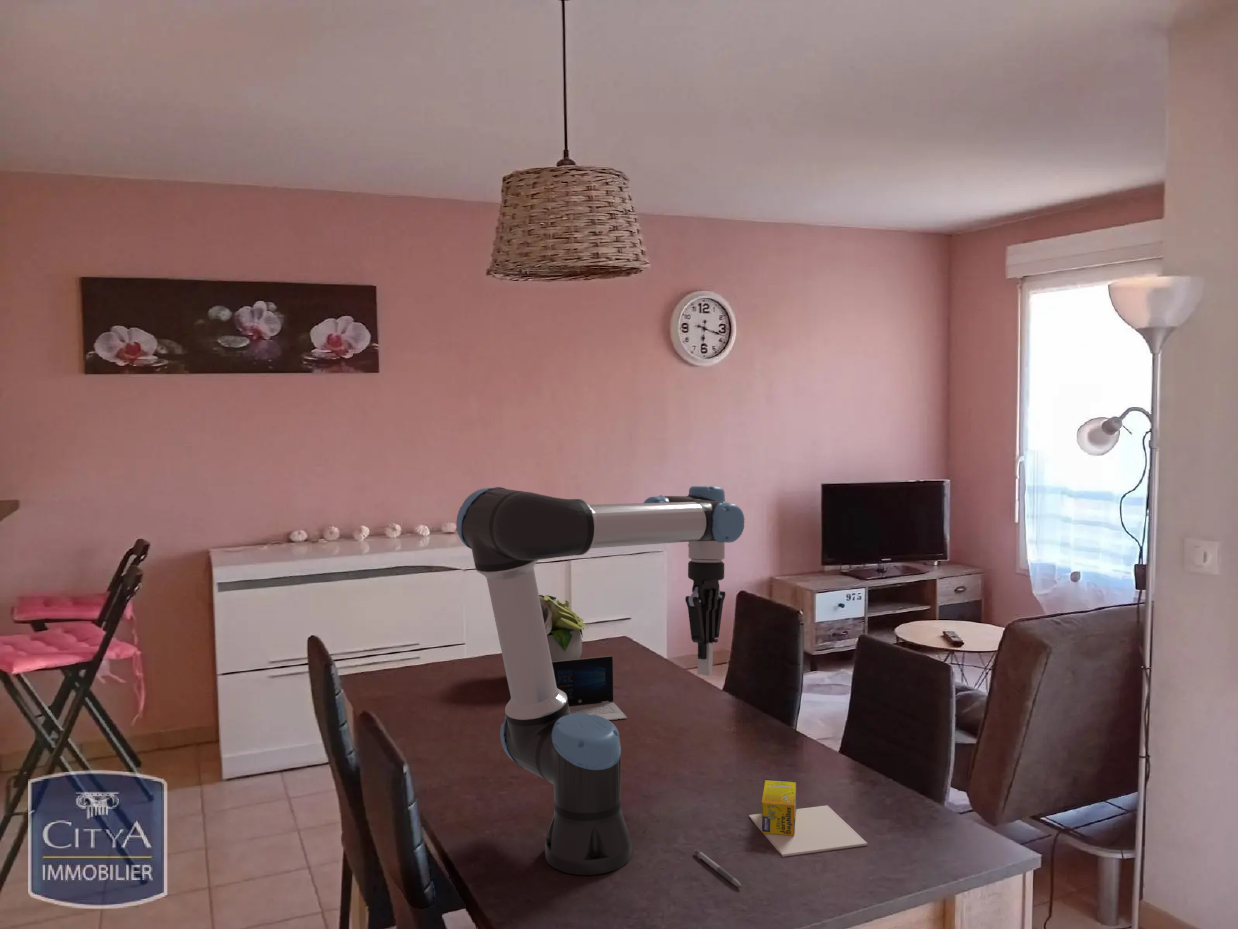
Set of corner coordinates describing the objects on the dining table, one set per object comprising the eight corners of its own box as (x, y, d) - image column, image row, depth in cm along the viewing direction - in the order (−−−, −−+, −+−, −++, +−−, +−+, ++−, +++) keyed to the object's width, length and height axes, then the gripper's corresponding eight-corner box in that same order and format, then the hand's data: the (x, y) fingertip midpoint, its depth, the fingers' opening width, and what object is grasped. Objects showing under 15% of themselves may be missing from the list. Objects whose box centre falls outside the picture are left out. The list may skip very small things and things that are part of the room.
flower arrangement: (494, 694, 257) (492, 604, 255) (508, 667, 282) (506, 585, 280) (586, 693, 256) (584, 604, 254) (592, 667, 281) (590, 585, 279)
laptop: (555, 728, 231) (554, 675, 230) (545, 712, 243) (544, 662, 242) (627, 720, 236) (626, 668, 235) (613, 704, 248) (612, 655, 247)
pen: (697, 855, 167) (697, 847, 167) (743, 891, 154) (743, 882, 154) (692, 856, 166) (692, 848, 166) (738, 893, 154) (738, 884, 154)
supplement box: (797, 810, 182) (794, 836, 171) (765, 808, 183) (761, 834, 173) (796, 780, 182) (794, 804, 171) (764, 778, 183) (760, 802, 172)
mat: (867, 845, 169) (867, 843, 169) (782, 856, 165) (782, 854, 165) (827, 807, 184) (827, 805, 184) (749, 817, 180) (749, 815, 180)
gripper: (706, 557, 206) (704, 666, 205) (674, 561, 195) (673, 677, 195) (737, 559, 201) (735, 671, 201) (706, 563, 191) (705, 682, 190)
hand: (705, 674), depth 198 cm, fingers closed
